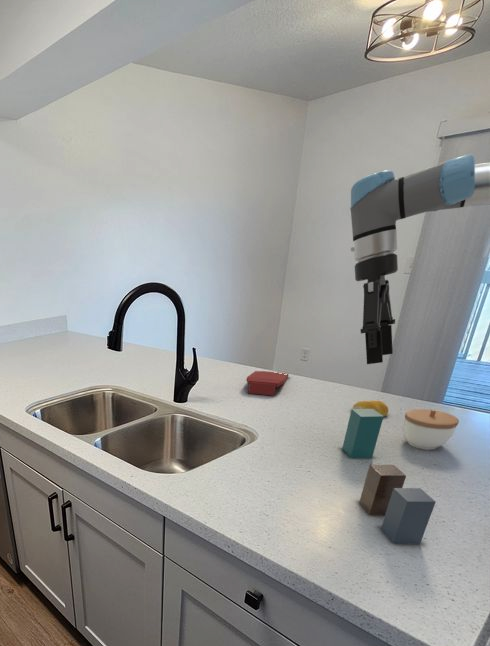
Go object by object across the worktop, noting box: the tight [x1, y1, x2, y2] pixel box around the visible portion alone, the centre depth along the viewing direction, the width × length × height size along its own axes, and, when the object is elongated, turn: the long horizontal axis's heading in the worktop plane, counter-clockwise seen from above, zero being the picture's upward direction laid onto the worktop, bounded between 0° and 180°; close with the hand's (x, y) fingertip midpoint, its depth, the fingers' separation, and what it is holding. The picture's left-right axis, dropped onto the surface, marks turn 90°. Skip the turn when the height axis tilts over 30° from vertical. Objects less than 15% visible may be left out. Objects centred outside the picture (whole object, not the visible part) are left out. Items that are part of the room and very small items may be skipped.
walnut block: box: [358, 464, 407, 516], centre depth 86 cm, size 4×4×9 cm
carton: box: [246, 370, 289, 397], centre depth 160 cm, size 12×5×25 cm
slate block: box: [380, 487, 437, 545], centre depth 78 cm, size 4×4×9 cm
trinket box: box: [402, 408, 460, 451], centre depth 109 cm, size 11×11×9 cm
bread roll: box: [351, 400, 389, 417], centre depth 130 cm, size 8×9×4 cm
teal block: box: [341, 408, 385, 459], centre depth 106 cm, size 5×5×11 cm
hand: (380, 358), depth 96 cm, fingers open, 13 cm apart
